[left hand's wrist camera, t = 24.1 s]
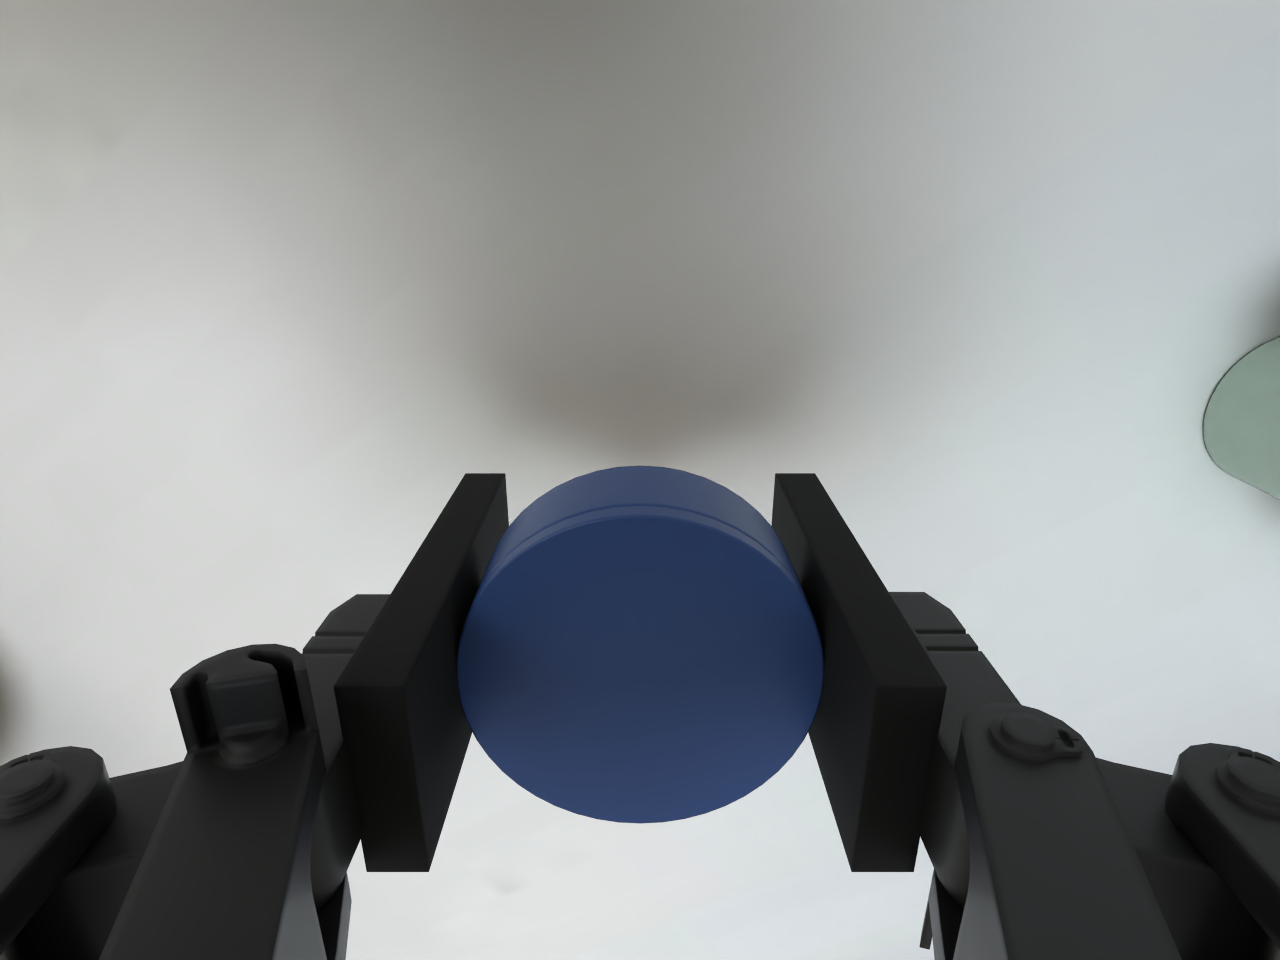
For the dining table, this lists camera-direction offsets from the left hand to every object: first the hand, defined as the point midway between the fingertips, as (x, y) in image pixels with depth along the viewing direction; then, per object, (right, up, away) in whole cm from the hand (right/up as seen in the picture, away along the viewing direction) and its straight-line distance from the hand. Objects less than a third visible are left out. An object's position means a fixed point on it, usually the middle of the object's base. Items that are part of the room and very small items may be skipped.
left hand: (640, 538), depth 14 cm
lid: (0, -2, -4) cm, 4 cm away
